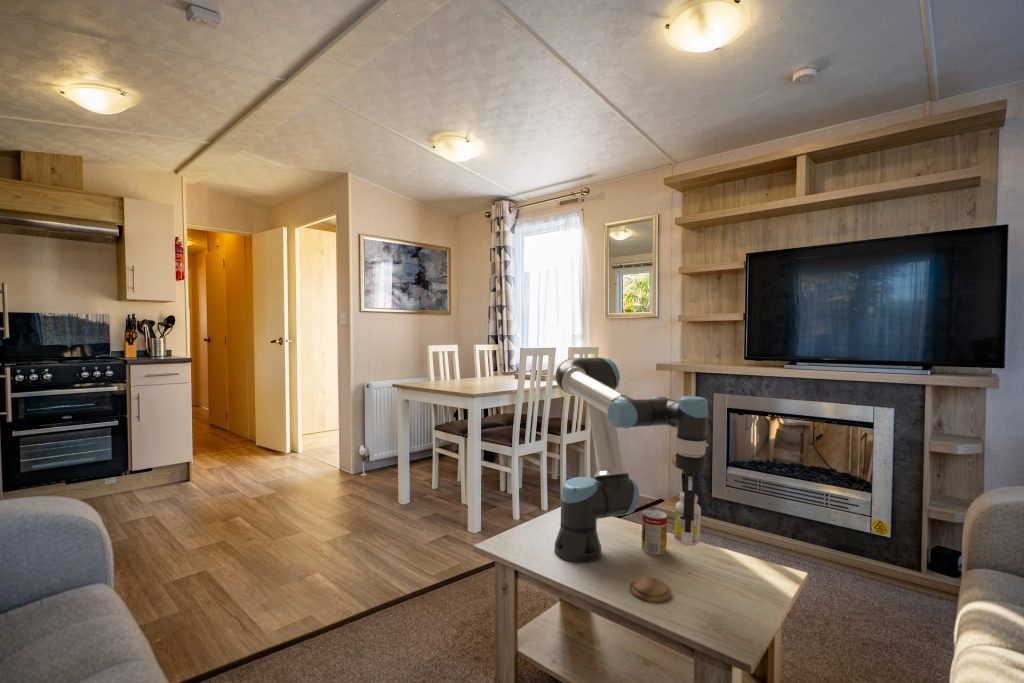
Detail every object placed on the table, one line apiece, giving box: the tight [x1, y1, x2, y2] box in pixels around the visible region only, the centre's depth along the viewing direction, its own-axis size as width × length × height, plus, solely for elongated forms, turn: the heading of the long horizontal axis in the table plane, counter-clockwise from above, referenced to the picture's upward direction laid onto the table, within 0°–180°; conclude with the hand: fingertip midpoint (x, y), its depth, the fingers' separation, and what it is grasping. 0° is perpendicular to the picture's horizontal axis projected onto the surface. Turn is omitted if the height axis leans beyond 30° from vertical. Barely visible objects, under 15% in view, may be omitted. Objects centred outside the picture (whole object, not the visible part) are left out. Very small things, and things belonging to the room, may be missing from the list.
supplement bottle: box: [673, 491, 702, 547], centre depth 136 cm, size 7×7×13 cm
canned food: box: [641, 509, 668, 556], centre depth 166 cm, size 8×8×12 cm
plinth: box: [629, 576, 672, 604], centre depth 138 cm, size 11×11×2 cm
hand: (686, 537), depth 136 cm, fingers closed on supplement bottle, 7 cm apart
